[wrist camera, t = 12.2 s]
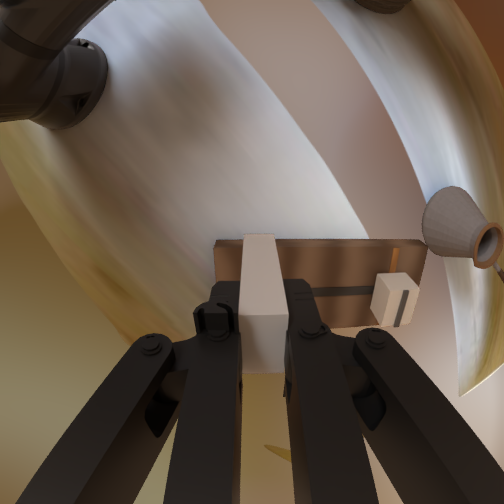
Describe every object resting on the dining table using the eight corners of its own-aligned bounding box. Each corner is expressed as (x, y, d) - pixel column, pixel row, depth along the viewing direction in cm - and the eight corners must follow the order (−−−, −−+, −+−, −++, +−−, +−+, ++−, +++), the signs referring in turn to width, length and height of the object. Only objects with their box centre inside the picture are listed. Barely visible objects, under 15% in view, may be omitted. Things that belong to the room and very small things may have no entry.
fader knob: (369, 307, 40) (381, 328, 35) (377, 273, 38) (391, 292, 33) (397, 305, 40) (410, 325, 35) (405, 272, 38) (421, 290, 33)
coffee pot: (401, 221, 38) (457, 263, 24) (442, 167, 34) (508, 188, 21) (458, 288, 43) (500, 333, 29) (491, 245, 39) (539, 280, 25)
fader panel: (222, 319, 45) (220, 331, 43) (216, 239, 40) (213, 248, 37) (401, 311, 45) (408, 322, 42) (419, 239, 39) (428, 247, 36)
